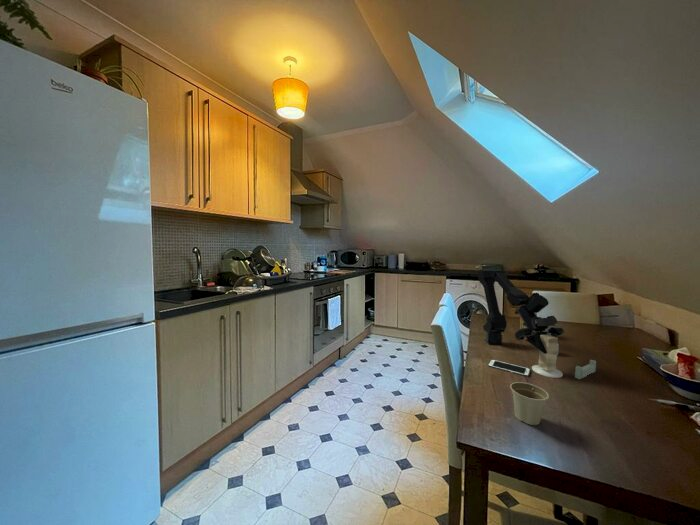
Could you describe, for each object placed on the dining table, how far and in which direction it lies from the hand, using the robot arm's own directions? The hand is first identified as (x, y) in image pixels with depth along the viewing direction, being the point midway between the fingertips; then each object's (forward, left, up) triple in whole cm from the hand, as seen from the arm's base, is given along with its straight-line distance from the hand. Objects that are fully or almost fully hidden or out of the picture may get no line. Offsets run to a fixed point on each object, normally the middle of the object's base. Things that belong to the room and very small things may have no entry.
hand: (550, 353), depth 105 cm
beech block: (0, +1, -7) cm, 7 cm away
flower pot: (-23, -32, -8) cm, 40 cm away
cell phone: (-14, +2, -9) cm, 17 cm away
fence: (+14, +1, -8) cm, 16 cm away
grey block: (+13, +22, -8) cm, 27 cm away
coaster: (0, +1, -8) cm, 8 cm away
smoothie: (+15, +48, -8) cm, 51 cm away
